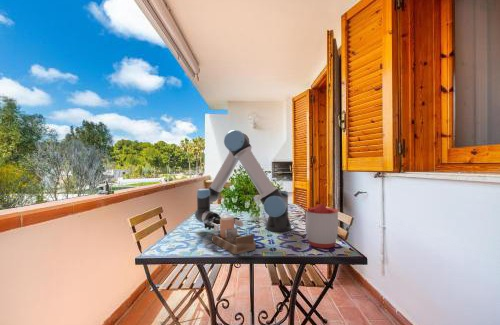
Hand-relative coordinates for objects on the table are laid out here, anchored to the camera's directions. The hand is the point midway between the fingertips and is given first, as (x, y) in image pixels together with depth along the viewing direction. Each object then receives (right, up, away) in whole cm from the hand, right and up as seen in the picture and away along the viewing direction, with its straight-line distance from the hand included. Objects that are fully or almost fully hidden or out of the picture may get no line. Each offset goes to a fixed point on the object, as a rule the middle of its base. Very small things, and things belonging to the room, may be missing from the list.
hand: (230, 226), depth 124 cm
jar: (-2, -8, +3) cm, 9 cm away
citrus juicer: (+43, -9, -1) cm, 44 cm away
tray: (+1, -9, -2) cm, 9 cm away
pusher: (+1, -8, -1) cm, 8 cm away
